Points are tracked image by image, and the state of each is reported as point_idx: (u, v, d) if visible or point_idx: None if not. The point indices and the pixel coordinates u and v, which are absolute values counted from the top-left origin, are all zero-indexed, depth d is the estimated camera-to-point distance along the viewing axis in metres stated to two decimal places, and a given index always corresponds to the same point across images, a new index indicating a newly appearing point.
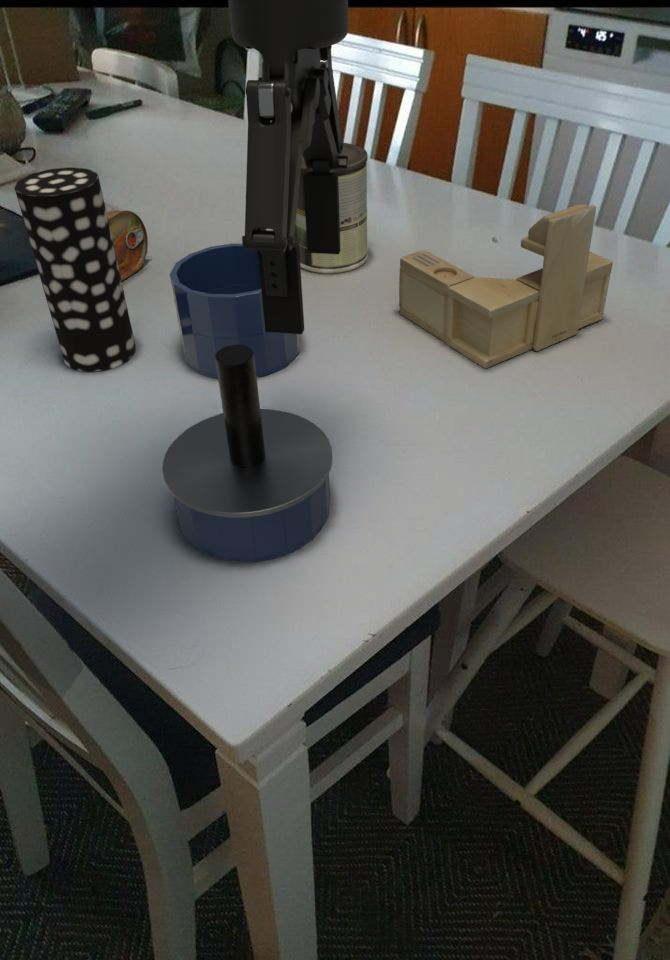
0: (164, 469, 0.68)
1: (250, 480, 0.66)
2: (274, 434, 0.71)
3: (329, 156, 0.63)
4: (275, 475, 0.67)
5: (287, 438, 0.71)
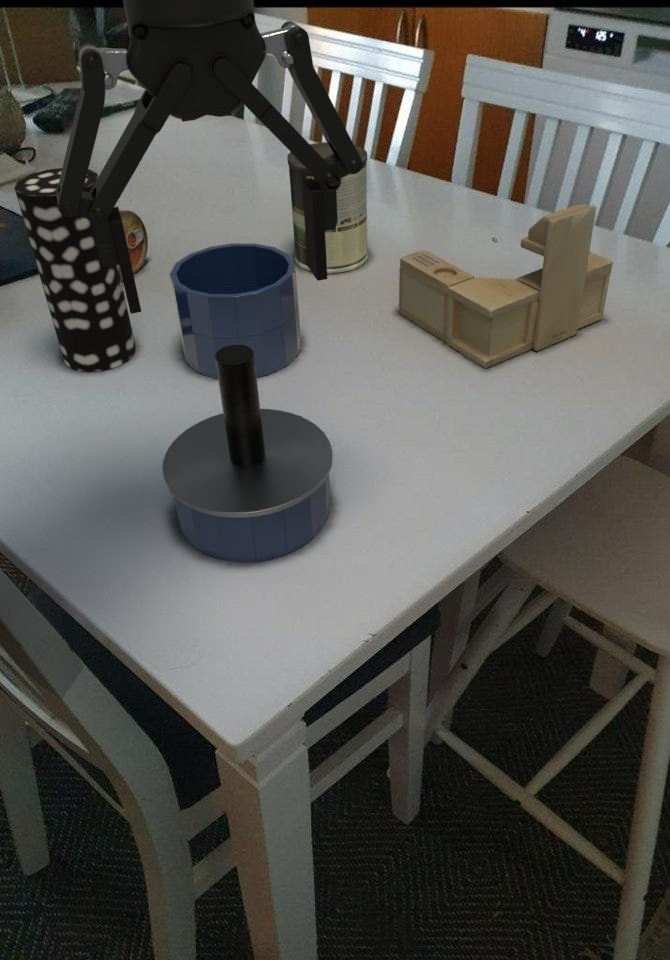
0: (164, 469, 0.68)
1: (250, 480, 0.66)
2: (274, 434, 0.71)
3: (306, 167, 0.54)
4: (275, 475, 0.67)
5: (287, 438, 0.71)
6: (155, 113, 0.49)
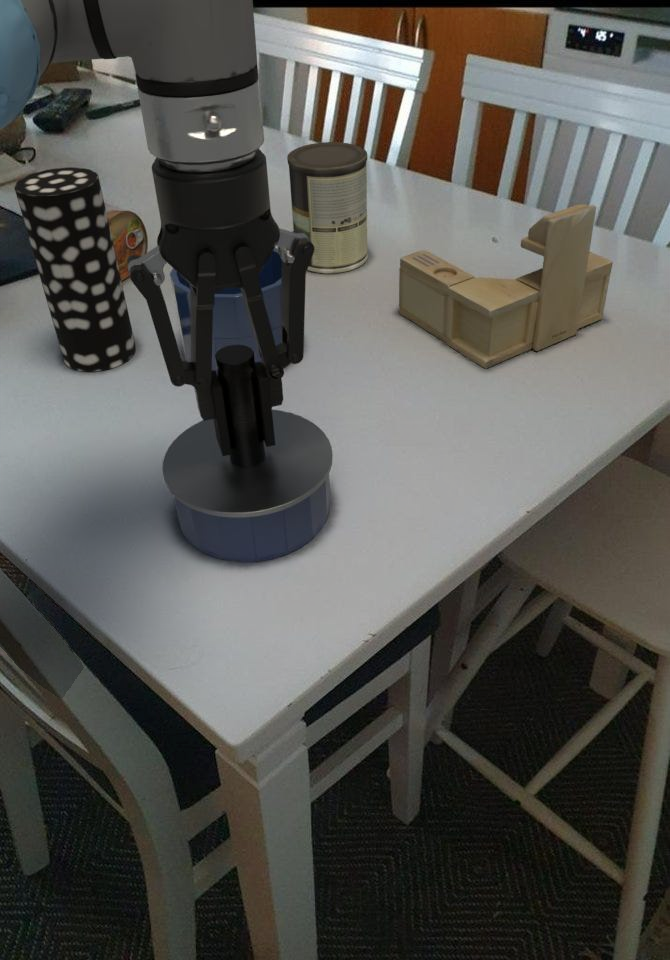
0: (164, 469, 0.68)
1: (250, 480, 0.66)
2: (274, 434, 0.71)
3: (261, 351, 0.62)
4: (275, 475, 0.67)
5: (287, 438, 0.71)
6: (204, 296, 0.57)
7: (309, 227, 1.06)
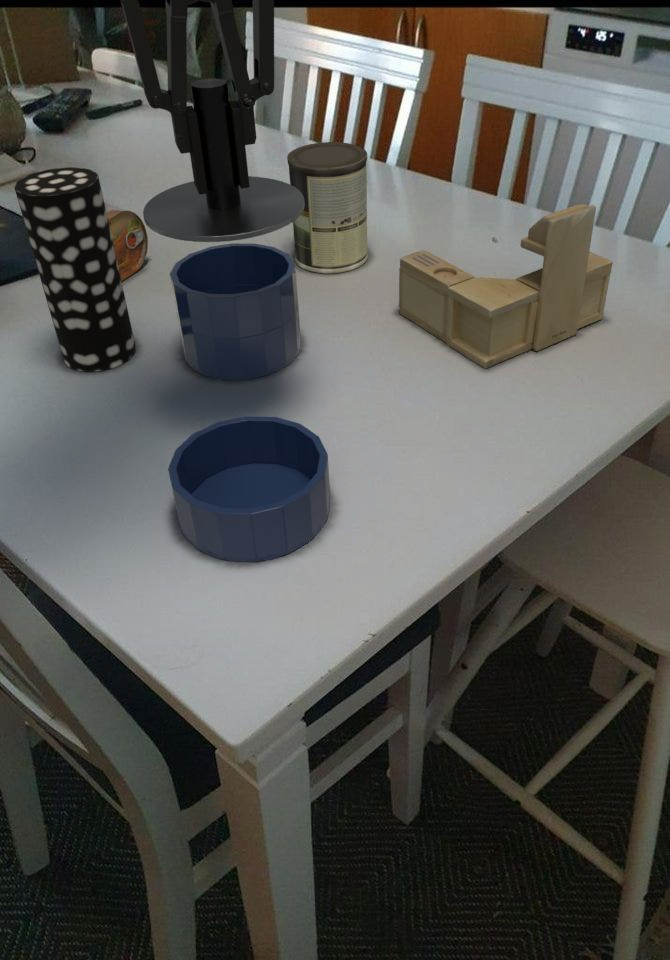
0: (144, 212, 0.72)
1: (225, 217, 0.70)
2: (250, 190, 0.75)
3: (233, 78, 0.66)
4: (249, 214, 0.70)
5: (262, 192, 0.74)
6: (177, 5, 0.61)
7: (308, 227, 1.06)
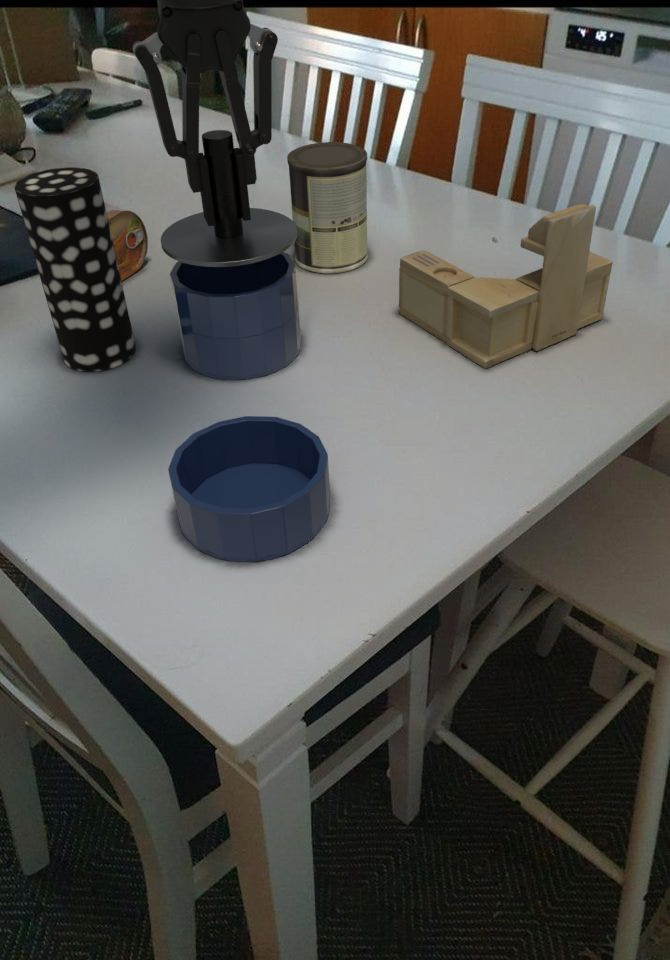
0: (162, 240, 0.85)
1: (230, 245, 0.83)
2: (250, 220, 0.88)
3: (237, 131, 0.79)
4: (251, 242, 0.83)
5: (261, 223, 0.87)
6: (192, 74, 0.74)
7: (308, 227, 1.06)
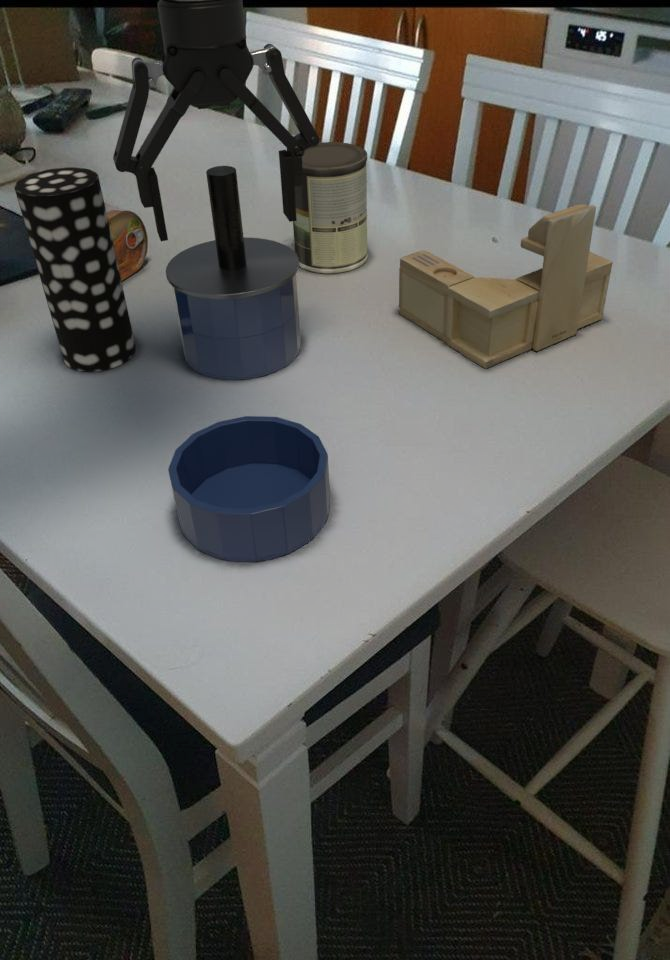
0: (167, 271, 0.87)
1: (234, 277, 0.85)
2: (253, 251, 0.90)
3: (281, 141, 0.80)
4: (254, 274, 0.85)
5: (264, 253, 0.89)
6: (181, 103, 0.75)
7: (308, 227, 1.06)
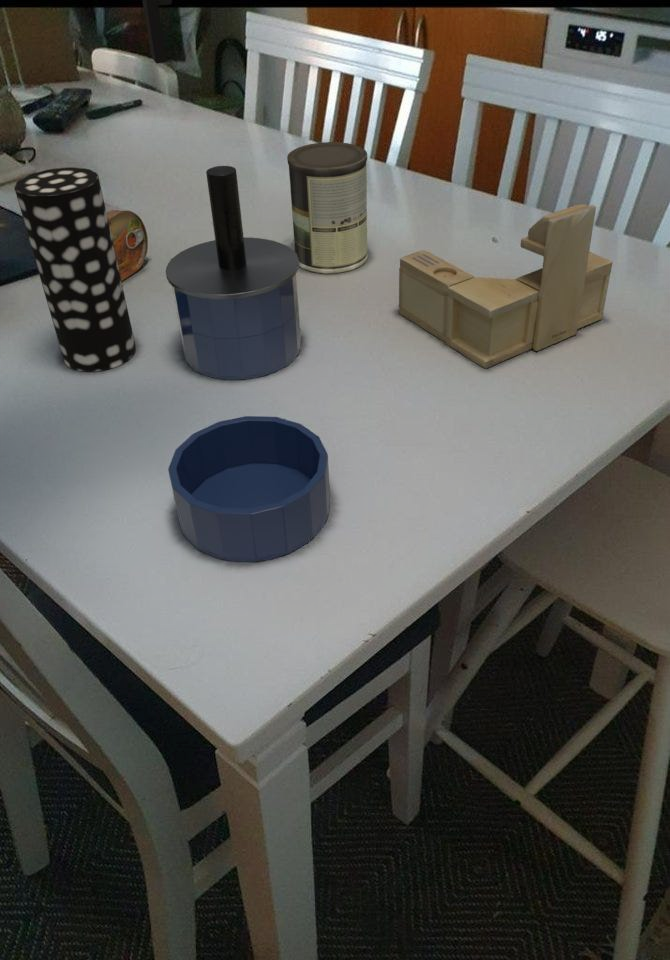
0: (167, 271, 0.87)
1: (234, 277, 0.85)
2: (253, 251, 0.90)
3: None
4: (254, 274, 0.85)
5: (264, 253, 0.89)
6: None
7: (308, 227, 1.06)
